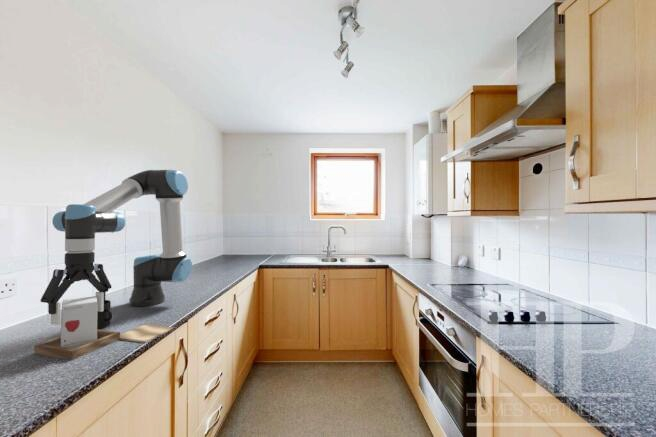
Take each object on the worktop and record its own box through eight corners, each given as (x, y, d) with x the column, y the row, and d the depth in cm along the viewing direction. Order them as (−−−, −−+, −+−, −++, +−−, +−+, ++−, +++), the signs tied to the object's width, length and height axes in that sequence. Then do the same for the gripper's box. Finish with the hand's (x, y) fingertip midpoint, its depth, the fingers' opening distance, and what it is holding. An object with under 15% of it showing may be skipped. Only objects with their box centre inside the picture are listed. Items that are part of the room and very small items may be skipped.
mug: (100, 332, 110) (100, 307, 110) (72, 330, 112) (72, 305, 112) (122, 323, 119) (122, 300, 119) (96, 321, 121) (96, 299, 121)
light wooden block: (145, 325, 117) (145, 324, 117) (173, 329, 113) (173, 327, 113) (114, 338, 104) (114, 337, 104) (145, 343, 101) (145, 341, 101)
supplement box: (60, 355, 92) (60, 306, 92) (61, 345, 99) (61, 299, 99) (97, 347, 97) (97, 301, 97) (96, 338, 104) (96, 295, 104)
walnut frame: (85, 334, 107) (85, 327, 107) (120, 339, 104) (120, 332, 104) (34, 353, 92) (34, 345, 92) (72, 359, 89) (72, 351, 89)
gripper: (107, 248, 111) (106, 305, 111) (25, 255, 87) (23, 329, 87) (123, 248, 109) (122, 307, 109) (44, 256, 85) (43, 331, 85)
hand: (78, 317), depth 98 cm, fingers open, 13 cm apart
